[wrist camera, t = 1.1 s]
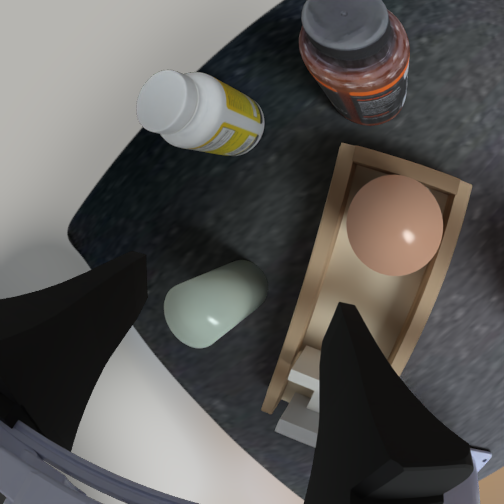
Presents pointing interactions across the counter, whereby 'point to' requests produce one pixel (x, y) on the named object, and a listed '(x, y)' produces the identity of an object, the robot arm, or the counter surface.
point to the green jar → (214, 302)
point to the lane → (367, 270)
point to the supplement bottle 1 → (199, 113)
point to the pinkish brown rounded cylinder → (394, 225)
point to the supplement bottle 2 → (356, 57)
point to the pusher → (303, 400)
